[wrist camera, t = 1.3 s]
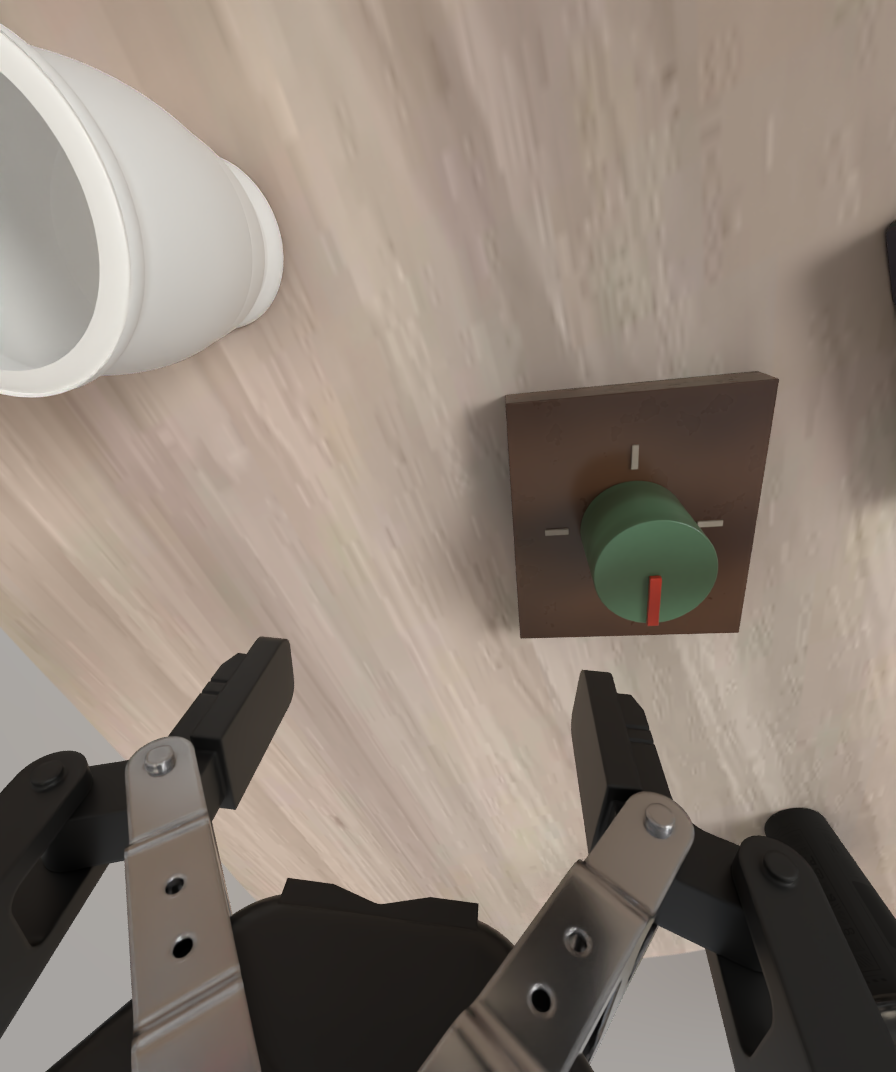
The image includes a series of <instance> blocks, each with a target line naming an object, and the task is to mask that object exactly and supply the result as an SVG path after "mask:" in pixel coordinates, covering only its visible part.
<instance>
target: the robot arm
mask: <svg viewBox="0 0 896 1072" xmlns="http://www.w3.org/2000/svg"><path fill="white" fill-rule="evenodd" d="M293 691H294V676H293V667H292V658H291V649H290V643H289V641H288V640H287V639H281V638H271V637H259V638H258V639H257V640H256V641H255V643H254V644H253V646H252V647H251V648H250V650H249V651H248V653H247V654H242V653H237V654H236V655H235V656H233V657H232V658H230V659H229V660H228V661H226V662H225V663H223V664H222V665H221V666H220V667H219V669H218V670H217V671H216V673H215V674H214V676H213V677H212V678H211V681H210V682H208V684H207V685H206V686H205V688H204V689H203V690H202V694H201V693H200V694H199V696H198V697H197V698H196V700H195V701H194V702H193V704H192V705H191V706H190V708H189V709H188V710H187V712H186V713H185V714H184V716H183V717H182V718H181V720H180V721H179V722H178V724H177V725H176V726H175V728H174V729H173V730H172V732H171V733H170V734H169V736H168V737H164V738H160V739H157V740H154V741H152V742H150V743H148V744H146V745H145V746H143V747H141V748H140V749H139V750H138V751H136V752H135V753H134V755H133V756H132V757H131V758H130V759H129V760H126V761H121V762H114V763H108V764H101V765H95V766H88V763H87V760H86V758H85V757H84V756H83V755H82V754H81V753H78V752H76V751H60V752H56V753H52V754H49V755H46V756H44V757H42V758H39V759H38V760H36V761H34V762H32V763H31V764H29V765H28V766H26V767H25V768H24V769H23V770H21V772H19V773H18V774H17V775H16V776H15V778H14V779H13V780H12V781H11V782H10V783H9V784H8V785H7V786H6V787H5V788H4V789H3V791H2V792H1V793H0V1038H1V1037H2V1035H3V1033H4V1032H5V1030H6V1029H7V1027H8V1026H9V1024H10V1022H11V1021H12V1019H13V1018H14V1016H15V1014H16V1012H17V1011H18V1009H19V1008H20V1006H21V1005H22V1003H23V1001H24V1000H25V998H26V997H27V995H28V993H29V992H30V990H31V989H32V987H33V985H34V984H35V982H36V981H37V979H38V977H39V976H40V974H41V972H42V971H43V969H44V968H45V966H46V964H47V963H48V961H49V960H50V958H51V956H52V955H53V953H54V951H55V950H56V948H57V947H58V945H59V943H60V942H61V940H62V939H63V937H64V935H65V934H66V932H67V931H68V929H69V927H70V926H71V924H72V923H73V921H74V919H75V918H76V916H77V914H78V913H79V911H80V910H81V908H82V907H83V905H84V903H85V902H86V900H87V898H88V897H89V895H90V894H91V892H92V890H93V889H94V887H95V886H96V884H97V882H98V881H99V879H100V878H101V876H102V874H103V873H104V871H105V870H106V868H107V866H108V865H109V863H114V862H119V861H124V862H125V879H126V895H127V896H126V897H127V915H128V930H129V949H130V968H131V985H132V999H131V1000H130V1001H129V1002H127V1003H126V1004H125V1005H124V1006H123V1007H121V1008H120V1009H119V1010H118V1011H117V1012H116V1013H115V1014H113V1015H112V1016H111V1017H110V1018H109V1019H107V1020H106V1021H105V1022H104V1023H103V1024H101V1025H100V1026H99V1027H98V1028H97V1029H95V1030H94V1031H93V1032H92V1033H91V1034H90V1035H88V1036H87V1037H86V1038H85V1039H84V1040H82V1041H81V1042H80V1043H79V1044H78V1045H77V1046H75V1047H74V1048H73V1049H72V1050H71V1051H69V1052H68V1053H67V1054H66V1055H65V1056H63V1057H62V1058H61V1059H60V1060H59V1061H58V1062H56V1063H55V1064H54V1065H53V1066H52V1067H51V1068H49V1069H48V1070H47V1071H46V1072H594V1071H593V1070H592V1068H591V1066H590V1063H591V1061H592V1059H593V1058H594V1055H595V1054H596V1052H597V1050H598V1048H599V1046H600V1044H601V1042H602V1040H603V1038H604V1036H605V1034H606V1032H607V1030H608V1028H609V1025H610V1023H611V1021H612V1019H613V1017H614V1015H615V1013H616V1010H617V1008H618V1006H619V1004H620V1002H621V999H622V997H623V995H624V993H625V991H626V989H627V987H628V985H629V983H630V982H631V980H632V978H633V976H634V974H635V972H636V970H637V968H638V966H639V964H640V962H641V960H642V958H643V956H644V954H645V952H646V950H647V948H648V946H649V944H650V942H651V940H652V939H653V937H654V935H655V933H656V931H657V929H658V927H659V926H660V927H663V928H665V929H667V930H669V931H671V932H673V933H675V934H677V935H679V936H681V937H683V938H685V939H687V940H689V941H691V942H694V943H696V944H698V945H700V946H702V947H704V948H705V950H706V954H707V958H708V962H709V966H710V970H711V974H712V978H713V982H714V987H715V991H716V994H717V999H718V1003H719V1007H720V1011H721V1015H722V1019H723V1023H724V1027H725V1031H726V1035H727V1040H728V1044H729V1048H730V1052H731V1056H732V1059H733V1064H734V1068H735V1072H896V1046H895V1044H894V1042H893V1039H892V1037H891V1035H890V1033H889V1031H888V1029H887V1026H886V1024H885V1022H884V1020H883V1018H882V1016H881V1014H880V1011H879V1009H878V1007H877V1005H876V1003H875V1001H874V998H873V996H872V994H871V992H870V990H869V988H868V986H867V983H866V981H865V979H864V977H863V975H862V973H861V970H860V968H859V966H858V964H857V962H856V960H855V958H854V955H853V953H852V951H851V949H850V947H849V945H848V942H847V940H846V938H845V936H844V934H843V932H842V930H841V927H840V925H839V923H838V921H837V919H836V917H835V914H834V912H833V910H832V908H831V906H830V904H829V902H828V899H827V897H826V895H825V893H824V891H823V889H822V886H821V884H820V882H819V880H818V878H817V876H816V874H815V872H814V870H813V869H812V868H811V866H810V865H809V864H808V862H807V861H806V860H805V859H804V858H803V857H802V856H801V855H800V854H799V853H798V852H796V851H795V850H794V849H792V848H791V847H789V846H788V845H786V844H785V843H783V842H781V841H779V840H776V839H773V838H771V837H766V836H751V837H748V838H747V839H745V840H744V841H743V842H742V843H741V845H740V846H739V845H736V844H734V843H732V842H729V841H727V840H724V839H722V838H719V837H717V836H714V835H712V834H710V833H708V832H705V831H703V830H702V829H700V828H698V827H697V826H695V825H694V824H693V823H692V822H691V819H690V818H689V816H688V815H687V813H686V812H685V811H684V810H683V808H682V807H681V806H679V805H678V804H677V803H676V802H675V801H673V799H672V797H671V794H670V791H669V788H668V785H667V781H666V778H665V775H664V772H663V769H662V766H661V763H660V760H659V756H658V753H657V750H656V747H655V745H654V744H653V738H652V735H651V732H650V731H649V725H648V722H647V719H646V716H645V713H644V710H643V709H642V708H641V706H640V705H639V704H638V703H637V702H636V700H635V699H634V698H633V697H632V696H631V695H628V694H618V693H617V692H616V688H615V684H614V680H613V677H612V674H611V673H609V672H599V671H589V670H582V671H581V673H580V677H579V682H578V687H577V692H576V696H575V701H574V706H573V711H572V720H571V734H572V742H573V749H574V756H575V763H576V770H577V777H578V784H579V791H580V798H581V805H582V812H583V819H584V826H585V833H586V840H587V846H588V853H589V855H588V857H587V858H586V859H585V860H584V861H582V860H578V861H576V862H575V863H574V865H573V866H572V867H571V868H570V870H569V871H568V872H567V874H566V875H565V877H564V878H563V879H562V881H561V882H560V884H559V885H558V886H557V888H556V889H555V890H554V892H553V893H552V895H551V896H550V897H549V899H548V900H547V902H546V903H545V904H544V906H543V907H542V909H541V910H540V911H539V913H538V914H537V915H536V917H535V918H534V920H533V921H532V922H531V924H530V925H529V927H528V928H527V929H526V931H525V932H524V933H523V935H522V936H521V938H520V939H519V940H518V942H517V943H516V945H515V946H514V945H513V944H512V943H511V942H510V941H509V940H508V939H507V938H506V937H504V936H503V935H502V934H501V933H500V932H498V931H497V930H495V929H494V928H492V927H490V926H489V925H487V924H485V923H483V922H481V921H479V920H478V904H477V903H470V902H463V901H455V900H448V899H440V898H433V897H428V898H422V899H415V900H408V901H401V902H394V903H387V904H377V903H374V902H372V901H369V900H367V899H365V898H363V897H361V896H359V895H356V894H354V893H352V892H350V891H348V890H345V889H343V888H341V887H339V886H337V885H334V884H329V883H322V882H314V881H307V880H299V879H292V878H287V881H286V884H285V886H284V889H283V892H282V894H281V895H276V896H272V897H268V898H265V899H262V900H259V901H257V902H254V903H252V904H250V905H248V906H246V907H244V908H243V909H241V910H239V911H238V912H236V913H235V914H233V915H232V910H231V906H230V902H229V897H228V893H227V888H226V884H225V879H224V874H223V870H222V865H221V861H220V856H219V851H218V847H217V842H216V837H215V833H214V828H213V824H212V820H213V819H214V817H215V815H216V813H217V811H218V809H219V808H226V809H234V810H236V808H237V806H238V804H239V802H240V800H241V798H242V797H243V795H244V793H245V791H246V789H247V787H248V785H249V783H250V781H251V779H252V777H253V775H254V773H255V771H256V769H257V767H258V765H259V763H260V762H261V760H262V758H263V756H264V754H265V752H266V750H267V748H268V746H269V744H270V742H271V740H272V738H273V736H274V734H275V732H276V730H277V728H278V726H279V725H280V723H281V721H282V719H283V717H284V715H285V713H286V711H287V709H288V707H289V705H290V703H291V700H292V696H293Z"/></svg>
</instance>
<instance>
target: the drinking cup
mask: <svg viewBox="0 0 896 1072" xmlns="http://www.w3.org/2000/svg"><path fill="white" fill-rule="evenodd" d="M765 833H766V836H767V837H771V838H773V839H776V840H779V841H781V842H783V843H785V844H786V845H788V846H789V847H791V848H792V849H794V850H795V851H796V852H798V853H799V854H800V855H801V856H802V857H803V858H804V859H805V860H806V861H807V862H808V864H809V865H810V866H811V868H812V869H813V870H814V872H815V874H816V876H817V878H818V880H819V882H820V884H821V886H822V889H823V891H824V893H825V895H826V897H827V899H828V902H829V904H830V906H831V908H832V910H833V912H834V914H835V917H836V919H837V921H838V923H839V925H840V927H841V930H842V932H843V934H844V936H845V938H846V940H847V942H848V945H849V947H850V949H851V951H852V953H853V955H854V958H855V960H856V962H857V964H858V966H859V968H860V970H861V973H862V975H863V977H864V979H865V981H866V983H867V986H868V988H869V990H870V992H871V994H872V996H873V998H874V1001H875V1003H876V1005H877V1007H878V1009H879V1011H880V1014H881V1016H882V1018H883V1020H884V1022H885V1024H886V1026H887V1029H888V1031H889V1033H890V1035H891V1037H892V1039H893V1042H894V1044H895V1046H896V919H895V917H894V916H893V915H892V913H891V912H890V910H889V909H888V907H887V906H886V905H885V903H884V902H883V900H882V899H881V898H880V896H879V895H878V893H877V892H876V890H875V889H874V888H873V886H872V885H871V883H870V882H869V881H868V879H867V878H866V876H865V875H864V873H863V872H862V871H861V869H860V868H859V866H858V865H857V863H856V862H855V861H854V859H853V858H852V856H851V855H850V854H849V852H848V851H847V849H846V848H845V846H844V845H843V844H842V842H841V841H840V839H839V838H838V836H837V835H836V834H835V832H834V831H833V829H832V828H831V827H830V825H829V824H828V822H827V821H826V819H825V818H824V817H823V816H822V815H821V814H819V813H818V812H816V811H813V810H810V809H804V808H794V809H788V810H784V811H781V812H779V813H777V814H775V815H773V816H772V817H771V818H770V819H769V820H768V821H767V823H766V825H765Z"/></svg>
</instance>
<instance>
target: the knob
mask: <svg viewBox="0 0 896 1072" xmlns="http://www.w3.org/2000/svg"><path fill="white" fill-rule="evenodd" d="M580 533H581V540H582V544H583V547H584V551H585V554H586V558H587V562H588V565H589V569H590V572H591V576H592V579H593V583H594V586H595V590H596V592H597V595H598V597H599V598H600V600H601V601H602V603H603V604H604V605H605V606H606V607H607V608H608V609H609V610H610V611H612V612H613V613H615V614H616V615H618V616H620V617H622V618H625V619H627V620H631V621H635V622H641V623H647V626H658V625H659V622H664V621H669V620H672V619H675V618H678V617H680V616H682V615H684V614H686V613H688V612H690V611H691V610H693V609H694V608H696V607H697V606H698V605H699V604H700V603H701V602H702V601H703V600H704V599H705V598H706V597H707V595H708V594H709V593H710V591H711V589H712V588H713V586H714V583H715V581H716V578H717V573H718V558H717V554H716V551H715V549H714V547H713V545H712V543H711V542H710V540H709V539H708V538H707V536H706V535H705V534H704V532H703V531H702V530H701V529H700V527H699V526H698V525H697V523H696V522H695V521H694V519H693V518H692V517H691V516H690V514H689V513H688V512H687V510H686V509H685V508H684V507H683V505H682V504H681V503H680V501H679V500H678V499H677V497H676V496H675V495H674V494H673V493H672V492H670V491H669V490H668V489H666V488H664V487H663V486H661V485H658V484H656V483H652V482H648V481H629V482H624V483H620V484H617V485H614V486H612V487H610V488H608V489H606V490H605V491H603V492H602V493H600V494H599V495H598V496H597V497H596V498H595V499H594V500H593V501H592V502H591V503H590V505H589V506H588V508H587V509H586V511H585V513H584V515H583V518H582V522H581V529H580Z"/></svg>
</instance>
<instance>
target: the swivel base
mask: <svg viewBox="0 0 896 1072" xmlns="http://www.w3.org/2000/svg"><path fill="white" fill-rule="evenodd" d="M778 382H779V379H778V378H775V377H772V376H769V375H767V374H764V373H761V372H759V371H755V372H744V373H734V374H723V375H712V376H702V377H691V378H680V379H670V380H659V381H648V382H638V383H627V384H616V385H606V386H595V387H584V388H574V389H563V390H552V391H542V392H531V393H520V394H510V395H506V420H507V436H508V451H509V467H510V483H511V498H512V514H513V530H514V545H515V561H516V577H517V592H518V608H519V624H520V638H554V637H591V636H628V635H665V634H702V633H738V632H739V627H740V621H741V614H742V608H743V602H744V596H745V589H746V583H747V577H748V570H749V564H750V558H751V552H752V545H753V539H754V533H755V526H756V520H757V514H758V508H759V501H760V495H761V489H762V482H763V476H764V470H765V464H766V457H767V451H768V445H769V438H770V432H771V426H772V420H773V413H774V407H775V401H776V394H777V388H778ZM629 481H648V482H652V483H656V484H658V485H661V486H663V487H664V488H666V489H668V490H669V491H670V492H672V493H673V494H674V495H675V496H676V497H677V499H678V500H679V501H680V503H681V504H682V505H683V507H684V508H685V509H686V510H687V512H688V513H689V514H690V516H691V517H692V518H693V519H694V521H695V522H696V523H697V525H698V526H699V527H700V529H701V530H702V531H703V532H704V534H705V535H706V536H707V538H708V539H709V540H710V542H711V543H712V545H713V547H714V549H715V551H716V554H717V558H718V573H717V578H716V581H715V583H714V586H713V588H712V589H711V591H710V593H709V594H708V595H707V597H706V598H705V599H704V600H703V601H702V602H701V603H700V604H699V605H698V606H697V607H696V608H694V609H693V610H691V611H690V612H688V613H686V614H684V615H682V616H680V617H678V618H675V619H672V620H669V621H664V622H659V625H658V626H647V623H641V622H635V621H631V620H627V619H625V618H622V617H620V616H618V615H616V614H615V613H613V612H612V611H610V610H609V609H608V608H607V607H606V606H605V605H604V604H603V603H602V601H601V600H600V598H599V597H598V595H597V592H596V590H595V586H594V583H593V579H592V576H591V572H590V569H589V565H588V562H587V558H586V554H585V551H584V547H583V544H582V540H581V533H580V529H581V522H582V518H583V515H584V513H585V511H586V509H587V508H588V506H589V505H590V503H591V502H592V501H593V500H594V499H595V498H596V497H597V496H598V495H599V494H600V493H602V492H603V491H605V490H606V489H608V488H610V487H612V486H614V485H617V484H620V483H624V482H629Z"/></svg>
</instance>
